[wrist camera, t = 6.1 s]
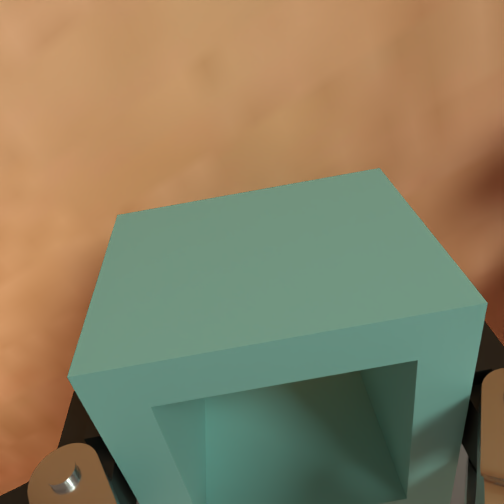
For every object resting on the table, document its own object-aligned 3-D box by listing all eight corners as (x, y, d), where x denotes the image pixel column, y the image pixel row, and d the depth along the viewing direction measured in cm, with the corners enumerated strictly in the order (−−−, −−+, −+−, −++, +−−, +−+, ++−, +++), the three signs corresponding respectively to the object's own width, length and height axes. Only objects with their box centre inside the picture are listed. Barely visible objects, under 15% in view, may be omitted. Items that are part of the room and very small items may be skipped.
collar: (379, 168, 11) (487, 303, 7) (378, 352, 15) (448, 513, 10) (117, 215, 11) (67, 376, 7) (180, 387, 15) (172, 561, 10)
